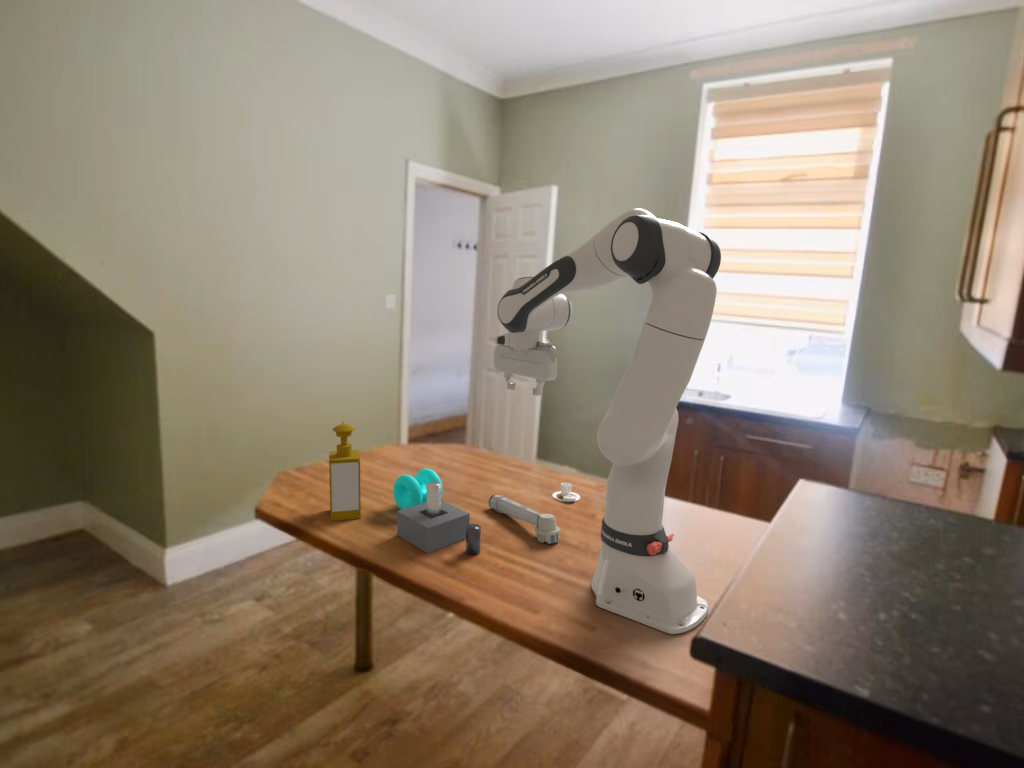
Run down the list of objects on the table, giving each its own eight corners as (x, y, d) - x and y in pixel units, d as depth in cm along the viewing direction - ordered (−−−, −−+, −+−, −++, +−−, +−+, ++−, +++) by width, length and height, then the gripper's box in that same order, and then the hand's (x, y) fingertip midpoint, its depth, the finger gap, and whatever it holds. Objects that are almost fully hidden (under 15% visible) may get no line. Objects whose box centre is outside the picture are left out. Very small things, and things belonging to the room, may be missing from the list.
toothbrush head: (502, 491, 150) (564, 512, 130) (503, 516, 151) (565, 540, 130) (485, 495, 147) (546, 517, 127) (487, 520, 148) (547, 545, 127)
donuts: (390, 508, 146) (390, 471, 145) (419, 497, 154) (420, 463, 152) (415, 519, 140) (415, 481, 138) (444, 508, 148) (445, 472, 146)
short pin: (483, 552, 124) (483, 527, 123) (472, 557, 122) (472, 531, 121) (473, 547, 126) (474, 522, 125) (462, 551, 124) (463, 526, 123)
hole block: (469, 537, 131) (469, 513, 130) (427, 553, 123) (427, 528, 122) (437, 521, 139) (438, 498, 138) (397, 534, 131) (397, 511, 130)
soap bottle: (358, 499, 151) (357, 415, 147) (360, 518, 139) (359, 427, 135) (330, 501, 149) (328, 416, 145) (330, 521, 137) (328, 428, 133)
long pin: (442, 536, 131) (443, 484, 129) (431, 540, 129) (432, 487, 126) (434, 532, 133) (435, 480, 131) (423, 536, 131) (424, 483, 129)
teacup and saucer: (576, 506, 153) (576, 492, 153) (548, 501, 156) (548, 487, 155) (582, 495, 162) (583, 481, 161) (556, 491, 164) (556, 477, 163)
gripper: (564, 343, 140) (561, 397, 142) (507, 336, 154) (505, 385, 156) (547, 345, 135) (544, 400, 138) (490, 337, 149) (489, 387, 152)
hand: (523, 392), depth 147 cm, fingers open, 8 cm apart
